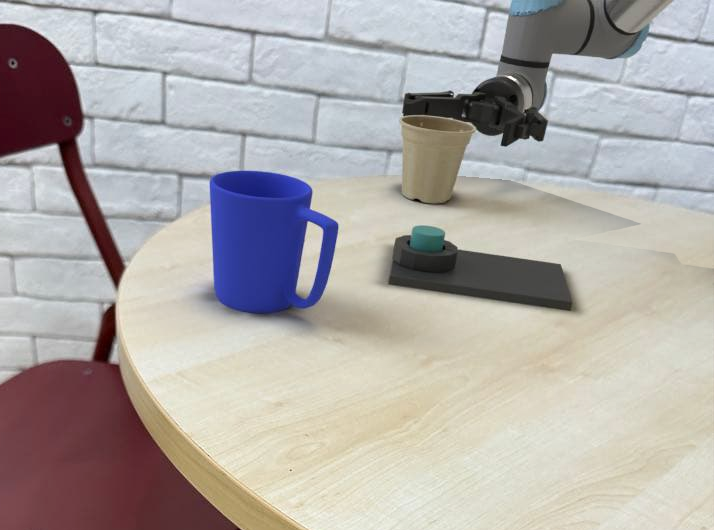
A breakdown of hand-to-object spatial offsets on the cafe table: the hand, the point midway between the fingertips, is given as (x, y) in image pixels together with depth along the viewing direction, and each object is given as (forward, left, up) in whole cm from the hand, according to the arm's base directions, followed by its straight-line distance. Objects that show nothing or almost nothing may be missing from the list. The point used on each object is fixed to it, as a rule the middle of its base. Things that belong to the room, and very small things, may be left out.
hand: (454, 124), depth 109 cm
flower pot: (+2, +7, -8) cm, 11 cm away
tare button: (+2, +37, -5) cm, 38 cm away
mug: (+14, +52, -8) cm, 55 cm away
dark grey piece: (-4, +37, -7) cm, 38 cm away
